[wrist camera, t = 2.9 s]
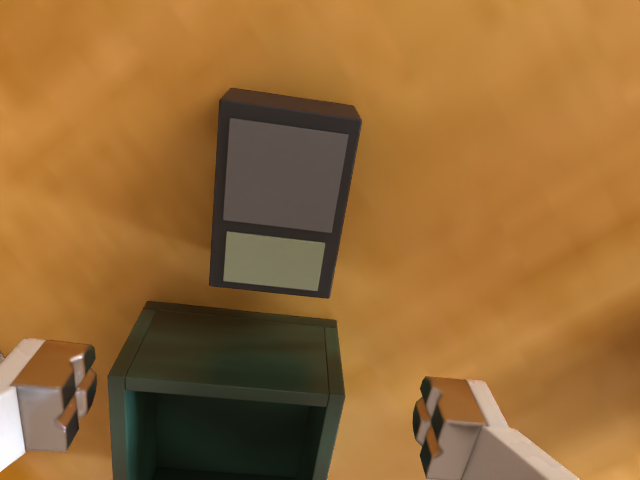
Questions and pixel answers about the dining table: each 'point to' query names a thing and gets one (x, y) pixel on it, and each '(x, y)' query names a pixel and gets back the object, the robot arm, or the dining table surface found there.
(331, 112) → the dark grey block
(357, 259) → the dining table surface
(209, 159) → the dining table surface
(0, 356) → the lumpy-topped squat cylinder
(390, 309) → the dining table surface
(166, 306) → the case
